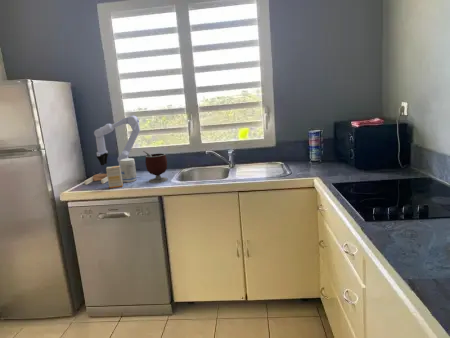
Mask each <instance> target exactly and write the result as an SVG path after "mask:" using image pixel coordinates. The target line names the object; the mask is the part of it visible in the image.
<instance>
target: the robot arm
mask: <svg viewBox="0 0 450 338" xmlns="http://www.w3.org/2000/svg"><path fill="white" fill-rule="evenodd" d="M122 125H129V126H130V128H131V130H132V131H131V133H130V135H129V138H128V140H127V141H126V144H125V146H124V148H123V150H122V152H121V154H120V155H118V157H117V162H118V166H120V160H122V159H127V158H130V157H129V156H130V154H131V153H130V152H131V150H132V148H133V146H134V144H135V142H136V141H137V138H138V136H139V133H140V132H141V126H140V120H139V118H138V116H136V115H130V116H127V117H123V118H121V119H120V120H118V121H116V122H114V123H106V124H104V126H100V127H99V128H97V129H95V130H94V131H93V135H94V137H95V142H96V150H97V152H95V154H96V158H97V159H98V161H99V163H100V166H104V165H107V163H108V158H109V153H108V150H107V146H106V141H105V140H106V139H105V135H108V134H110V133H112V132H113V131H114V129H115V128H118V127H120V126H122ZM120 168H121V166H120Z"/></svg>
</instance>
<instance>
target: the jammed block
mask: <svg viewBox="0 0 450 338" xmlns="http://www.w3.org/2000/svg"><path fill="white" fill-rule="evenodd" d="M92 177H93V180H94V181H93V182H95V181H101V180H102V179H104V178H105V177H107V173H97V174H93V176H92Z"/></svg>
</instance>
